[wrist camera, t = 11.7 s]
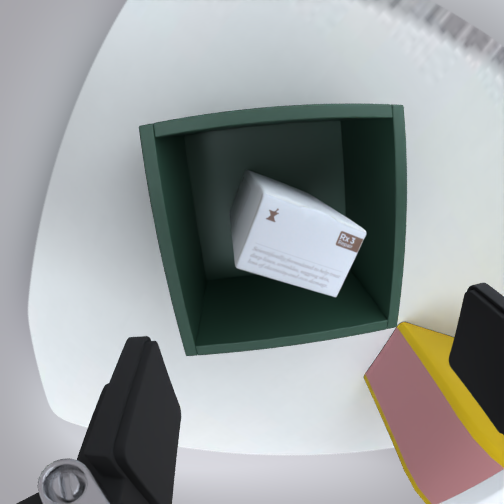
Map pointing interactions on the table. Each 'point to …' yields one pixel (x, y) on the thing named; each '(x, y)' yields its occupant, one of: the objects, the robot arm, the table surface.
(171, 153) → the bin
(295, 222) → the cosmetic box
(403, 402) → the alarm clock
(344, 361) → the table surface
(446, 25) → the table surface
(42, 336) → the table surface
